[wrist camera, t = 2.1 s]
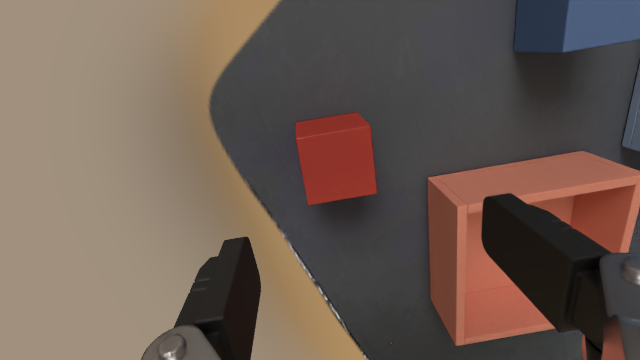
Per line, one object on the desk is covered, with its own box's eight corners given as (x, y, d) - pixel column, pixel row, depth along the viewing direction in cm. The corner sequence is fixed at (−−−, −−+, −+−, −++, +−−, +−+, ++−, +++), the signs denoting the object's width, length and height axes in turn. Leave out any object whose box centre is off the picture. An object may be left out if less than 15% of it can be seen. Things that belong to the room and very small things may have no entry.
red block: (305, 179, 22) (308, 205, 18) (295, 122, 21) (295, 138, 17) (363, 169, 22) (377, 193, 18) (357, 111, 21) (370, 125, 17)
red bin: (430, 299, 27) (455, 346, 23) (427, 177, 23) (457, 206, 18) (561, 276, 27) (611, 318, 23) (582, 150, 23) (648, 173, 19)
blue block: (513, 52, 20) (562, 53, 16) (518, -23, 18) (574, -40, 15) (576, 41, 20) (640, 40, 16) (586, -34, 18) (660, -55, 15)
